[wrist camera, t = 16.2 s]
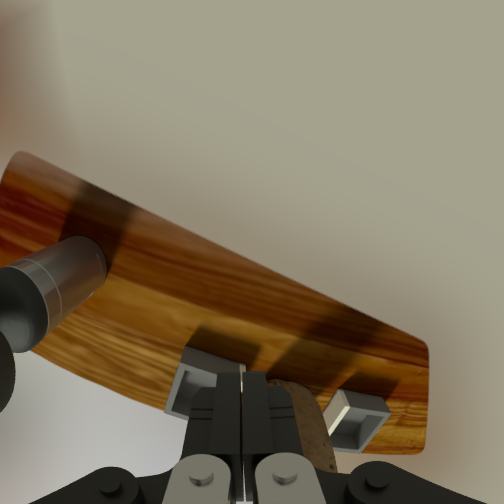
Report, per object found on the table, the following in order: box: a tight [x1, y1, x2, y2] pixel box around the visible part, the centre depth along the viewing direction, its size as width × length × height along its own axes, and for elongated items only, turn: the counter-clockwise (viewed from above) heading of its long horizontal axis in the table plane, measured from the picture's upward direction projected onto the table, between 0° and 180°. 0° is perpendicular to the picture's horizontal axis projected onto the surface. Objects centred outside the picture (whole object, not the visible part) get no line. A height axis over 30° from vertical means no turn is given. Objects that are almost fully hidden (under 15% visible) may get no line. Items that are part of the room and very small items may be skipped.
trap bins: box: [164, 345, 391, 453], centre depth 49 cm, size 37×11×5 cm, turn 69°
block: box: [266, 379, 338, 473], centre depth 41 cm, size 11×8×20 cm
